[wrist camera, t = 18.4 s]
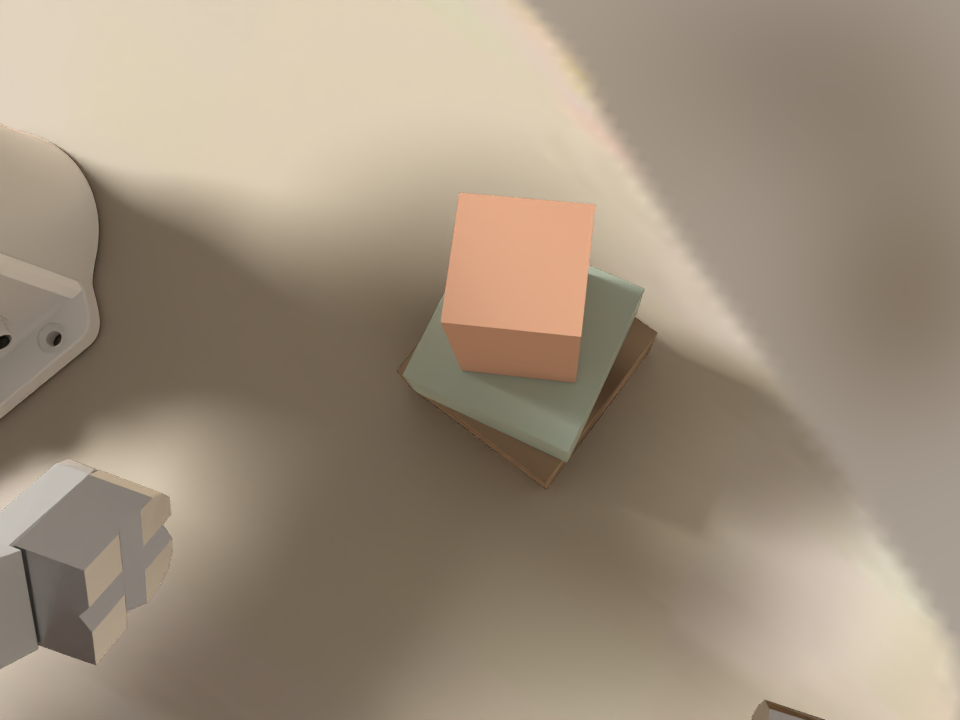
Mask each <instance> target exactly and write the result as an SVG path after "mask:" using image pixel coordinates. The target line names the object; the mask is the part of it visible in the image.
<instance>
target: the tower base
mask: <svg viewBox="0 0 960 720" xmlns="http://www.w3.org/2000/svg"><path fill="white" fill-rule="evenodd" d="M656 334H657V332H655V331H654V330H653V329H651V328H650V327H648V326H647V325H645V324H644V323H642V322H641V321H640V320H638V319H637V318H634V320H633V322H632V325H631V327H630V329H629V331H628V333H627V335H626V338H625V340H624V342H623V344H622V346H621V348H620V351H619V353H618V355H617V357H616V359H615V361H614V364H613V366H612V368H611V370H610V372H609V374H608V376H607V379H606V381H605V383H604V385H603V387H602V389H601V392H600V394H599V396H598V398H597V400H596V402H595V405H594V407H593V409H592V411H591V413H590V415H589V418H588V420H587V422H586V424H585V426H584V428H583V431H582V433H581V435H580V437H579V439H578V441H577V443H576V446H575V448H574V450H573V452H572V454H573V453H574V452H575V450H576V449H577V447H578V446H579V445H580V443H581V442H582V441H583V439H584V438H585V437H586V435H587V434H588V433H589V431H590V430H591V429H592V427H593V426H594V425H595V423H596V422H597V421H598V419H599V418H600V417H601V415H602V414H603V413H604V411H605V410H606V409H607V407H608V406H609V404H610V403H611V402H612V400H613V399H614V398H615V396H616V395H617V394H618V392H619V391H620V390H621V388H622V387H623V386H624V384H625V383H626V382H627V380H628V379H629V378H630V376H631V375H632V374H633V372H634V371H635V370H636V368H637V367H638V366H639V364H640V363H641V362H642V360H643V359H644V357H645V356H646V355H647V353H648V352H649V351H650V349H651V346H652V344H653V341H654V339H655V337H656ZM418 344H419V343H418ZM417 346H418V345H417ZM417 346H416V347H417ZM416 347H415V349H416ZM415 349H414V350H413V351H412V352H411V354H410V355H409V356H408V357H407V359H406V360H405V361H404V363H403V364H402V365H401V366H400V368H399V369H398V370H397V372H398V373H399V374H400V376H401V377H402V378H403V379H404V380H405V382H406V383H407V384H408V385H409V386H410V387H411V388H412V386H411V385H410V384H409V383H408V382H407V380H406V379H405V378H404V377H403V376H402V375H403V373H404V371H405V369H406V367H407V365H408V363H409V361H410V359H411V357H412V355H413V353H414V351H415ZM422 396H423V395H422ZM423 397H425V396H423ZM425 398H426V399H427V400H429V401H430V402H431V403H433V404H434V405H435V406H437V407H438V408H439V409H440V410H442V411H443V412H444V413H446V414H447V415H448V416H450V417H451V418H452V419H454V420H455V421H456V422H458V423H459V424H460V425H462V426H463V427H464V428H466V429H467V430H468V431H470V432H471V433H472V434H474V435H475V436H476V437H478V438H479V439H480V440H482V441H483V442H484V443H485V444H487V445H488V446H489V447H491V448H492V449H493V450H495V451H496V452H497V453H499V454H500V455H501V456H503V457H504V458H505V459H507V460H508V461H509V462H511V463H512V464H513V465H515V466H516V467H517V468H519V469H520V470H521V471H523V472H524V473H525V474H527V475H528V476H529V477H531V478H532V479H533V480H534V481H536V482H537V483H538V484H540V485H541V486H542V487H544V488H545V489H547V488H548V486H549V485H550V484H551V482H552V481H553V480H554V478H555V477H556V476H557V474H558V473H559V472H560V470H561V469H562V468H563V466H564V465H565V464H566V462H564V461H562V460H560V459H558V458H555V457H553V456H551V455H549V454H547V453H545V452H543V451H541V450H538V449H536V448H534V447H532V446H530V445H528V444H526V443H523V442H521V441H519V440H517V439H515V438H513V437H511V436H509V435H506V434H504V433H502V432H500V431H498V430H496V429H494V428H491V427H489V426H487V425H485V424H483V423H481V422H479V421H477V420H474V419H472V418H470V417H468V416H466V415H464V414H462V413H459V412H457V411H455V410H453V409H451V408H449V407H447V406H445V405H442V404H440V403H438V402H436V401H434V400H432V399H430V398H427V397H425ZM572 454H571V456H572ZM571 456H570V457H571Z"/></svg>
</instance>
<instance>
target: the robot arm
mask: <svg viewBox="0 0 960 720" xmlns="http://www.w3.org/2000/svg"><path fill="white" fill-rule="evenodd" d="M98 239H99V222H98V213H97V208H96V203H95V200H94V196H93V193H92V191H91V188H90V186H89V184H88V182H87V180H86V178H85V176H84V175H83V173H82V172H81V170H80V169H79V167H78V166H77V165H76V164H75V162H74V161H73V160H72V159H71V158H70V157H69V156H68V155H67V154H66V153H64V152H63V151H62V150H61V149H59V148H58V147H57V146H55V145H54V144H52V143H50V142H49V141H47V140H44V139H42V138H40V137H38V136H35V135H32V134H29V133H26V132H22V131H19V130H16V129H13V128H10V127H8V126H5V125H3V124H1V123H0V419H1V418H2V417H3V416H4V415H5V414H7V413H8V412H9V411H10V410H12V409H13V408H14V407H15V406H16V405H18V404H19V403H20V402H21V401H23V400H24V399H25V398H26V397H27V396H29V395H30V394H31V393H32V392H34V391H35V390H36V389H37V388H38V387H40V386H41V385H42V384H43V383H45V382H46V381H47V380H48V379H49V378H51V377H52V376H53V375H54V374H56V373H57V372H58V371H59V370H60V369H62V368H63V367H64V366H65V365H67V364H68V363H69V362H70V361H71V360H73V359H74V358H75V357H76V356H78V355H79V354H80V353H81V352H82V351H84V350H85V349H86V348H87V347H88V346H90V345H91V344H92V343H93V342H94V340H95V339H96V337H97V335H98V332H99V328H100V318H99V311H98V306H97V301H96V297H95V293H94V289H93V286H92V285H93V271H94V265H95V259H96V254H97V248H98ZM60 334H61V337H62V338H61V342H60V343H59V344H58V345H56V346H54V344H53V343H54V339H55V337H56V336H58V335H60ZM170 516H171V508H170V497H169V496H167V495H165V494H163V493H160V492H157V491H155V490H152V489H149V488H147V487H144V486H141V485H139V484H136V483H133V482H131V481H128V480H125V479H123V478H120V477H117V476H115V475H112V474H109V473H107V472H104V471H102V470H98V469H95V468H92V467H90V466H87V465H84V464H81V463H79V462H76V461H73V460H70V459H67V460H64V461H61V462H58V463H56V464H55V465H53V466H52V467H51V468H50V469H49V470H48V471H47V472H45V473H44V474H43V475H42V476H41V477H40V478H39V479H37V480H36V481H35V482H34V483H33V484H32V485H31V486H29V487H28V488H27V489H26V490H25V491H24V492H23V493H21V494H20V495H19V496H18V497H17V498H16V499H15V500H13V501H12V502H11V503H10V504H9V505H8V506H7V507H5V508H4V509H3V510H2V511H1V512H0V669H1V668H3V667H5V666H7V665H9V664H11V663H13V662H15V661H17V660H18V659H20V658H22V657H24V656H26V655H28V654H30V653H32V652H34V651H36V650H37V649H38V645H39V646H42V647H45V648H48V649H51V650H54V651H56V652H59V653H62V654H65V655H68V656H71V657H74V658H77V659H79V660H82V661H85V662H88V663H91V664H94V665H97V664H98V662H99V661H100V660H101V659H102V657H103V656H104V655H105V654H106V653H107V651H108V650H109V649H110V648H111V646H112V645H113V644H114V643H115V642H116V640H117V639H118V638H119V637H120V636H121V634H122V633H123V632H124V631H125V629H126V628H127V611H129V610H131V609H134V608H136V607H139V606H141V605H143V604H146V603H147V602H148V601H149V600H150V599H151V597H152V596H153V595H154V593H155V592H156V591H157V590H158V588H159V587H160V585H161V583H162V581H163V579H164V577H165V575H166V573H167V571H168V568H169V566H170V561H171V556H172V552H173V550H172V537H171V536H170V534H169V533H168V531H167V530H166V528H165V527H164V526H163V524H164V523H165V521H166V520H167V519H168V518H169V517H170ZM752 720H825V719H821V718H818V717H815V716H812V715H809V714H806V713H803V712H800V711H797V710H794V709H791V708H788V707H785V706H782V705H779V704H776V703H773V702H770V701H767V700H764V701H763V702H761V703H760V704H759V705H758V707H757V708H756V710H755V712H754V714H753V715H752Z"/></svg>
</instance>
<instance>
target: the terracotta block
mask: <svg viewBox="0 0 960 720" xmlns="http://www.w3.org/2000/svg"><path fill="white" fill-rule="evenodd" d="M594 213H595V205H594V204H583V203H571V202H560V201H549V200H537V199H526V198H514V197H503V196H491V195H480V194H468V193H459V199H458V205H457V212H456V219H455V226H454V233H453V240H452V247H451V254H450V261H449V267H448V274H447V281H446V288H445V295H444V302H443V309H442V316H441V325H442V327H443V329H444V331H445V334H446V336H447V338H448V341H449V343H450V345H451V347H452V350H453V352H454V354H455V357H456V359H457V361H458V363H459V366H460V368H461V370H462V371H471V372H480V373H489V374H498V375H508V376H517V377H526V378H535V379H544V380H553V381H563V382H572V383H576V378H577V369H578V360H579V352H580V343H581V334H582V325H583V315H584V306H585V297H586V287H587V278H588V269H589V259H590V250H591V241H592V231H593V222H594Z"/></svg>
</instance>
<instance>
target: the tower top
mask: <svg viewBox="0 0 960 720" xmlns="http://www.w3.org/2000/svg"><path fill="white" fill-rule="evenodd" d="M643 291H644V288H642V287H639V286H637V285H635V284H632V283H630V282H628V281H625V280H623V279H621V278H618V277H616V276H614V275H611V274H609V273H606V272H604V271H602V270H599V269H597V268H595V267H592V266H590V265H589V269H588V278H587V287H586V297H585V306H584V315H583V325H582V334H581V343H580V352H579V360H578V369H577V378H576V383H572V382H563V381H553V380H544V379H535V378H526V377H517V376H508V375H498V374H489V373H480V372H471V371H462V370H461V368H460V366H459V363H458V361H457V359H456V357H455V354H454V352H453V350H452V347H451V345H450V343H449V341H448V338H447V336H446V334H445V331H444V329H443V327H442V325H441V316H442V309H443V302H444V295H445V292H444V294H443V296H442V298H441V300H440V302H439V304H438V306H437V308H436V310H435V312H434V314H433V316H432V318H431V320H430V322H429V324H428V326H427V328H426V330H425V332H424V334H423V336H422V338H421V340H420V342H419V344H418V346H417V347H416V349H415V351H414V353H413V355H412V357H411V359H410V361H409V363H408V365H407V367H406V369H405V371H404V373H403V375H402V376H403V377H404V378H405V379H406V380H407V382H408V383H409V384H410V385H411V386H412V388H413V389H414V390H415V391H416V392H417V393H419V394H421V395H423V396H425V397H427V398H430V399H432V400H434V401H436V402H438V403H440V404H442V405H445V406H447V407H449V408H451V409H453V410H455V411H457V412H459V413H462V414H464V415H466V416H468V417H470V418H472V419H474V420H477V421H479V422H481V423H483V424H485V425H487V426H489V427H491V428H494V429H496V430H498V431H500V432H502V433H504V434H506V435H509V436H511V437H513V438H515V439H517V440H519V441H521V442H523V443H526V444H528V445H530V446H532V447H534V448H536V449H538V450H541V451H543V452H545V453H547V454H549V455H551V456H553V457H555V458H558V459H560V460H562V461H564V462H566V463H568V461H569V459H570V456H571V454H572V452H573V450H574V448H575V446H576V443H577V441H578V439H579V437H580V435H581V433H582V431H583V428H584V426H585V424H586V422H587V420H588V418H589V415H590V413H591V411H592V409H593V407H594V405H595V402H596V400H597V398H598V396H599V394H600V392H601V389H602V387H603V385H604V383H605V381H606V379H607V376H608V374H609V372H610V370H611V368H612V366H613V364H614V361H615V359H616V357H617V355H618V353H619V351H620V348H621V346H622V344H623V342H624V340H625V338H626V335H627V333H628V331H629V329H630V327H631V325H632V322H633V320H634V318H635V316H636V314H637V311H638V308H639V304H640V301H641V298H642V295H643Z"/></svg>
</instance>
